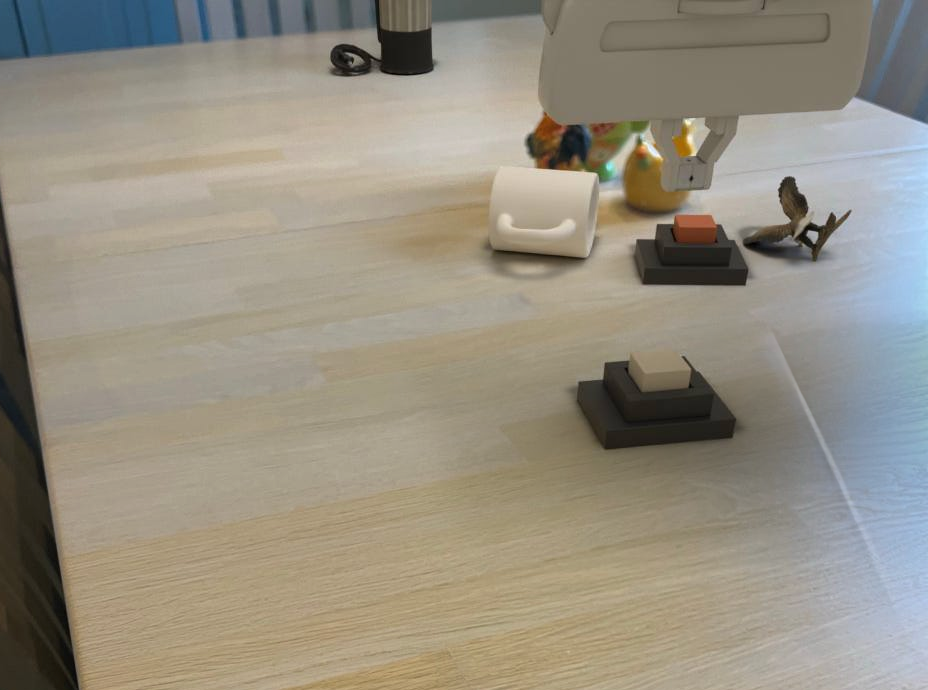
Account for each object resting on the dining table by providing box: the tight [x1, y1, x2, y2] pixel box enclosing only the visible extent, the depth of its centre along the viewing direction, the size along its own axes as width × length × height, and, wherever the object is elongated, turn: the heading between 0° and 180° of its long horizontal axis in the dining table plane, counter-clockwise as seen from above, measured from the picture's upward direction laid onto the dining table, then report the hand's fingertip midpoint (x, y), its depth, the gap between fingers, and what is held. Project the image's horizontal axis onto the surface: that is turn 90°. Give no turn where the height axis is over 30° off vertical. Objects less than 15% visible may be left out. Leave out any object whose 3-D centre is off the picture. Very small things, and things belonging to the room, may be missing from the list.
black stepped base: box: [576, 355, 737, 451], centre depth 78 cm, size 10×8×4 cm
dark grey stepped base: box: [634, 223, 750, 287], centre depth 101 cm, size 10×8×4 cm
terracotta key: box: [673, 214, 717, 243], centre depth 99 cm, size 4×4×2 cm
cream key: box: [628, 348, 691, 392], centre depth 76 cm, size 4×4×2 cm
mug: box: [487, 165, 600, 259], centre depth 102 cm, size 12×10×8 cm
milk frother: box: [329, 0, 435, 75], centre depth 166 cm, size 14×16×15 cm
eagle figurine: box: [742, 175, 853, 262], centre depth 104 cm, size 8×7×9 cm
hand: (684, 188), depth 67 cm, fingers closed
